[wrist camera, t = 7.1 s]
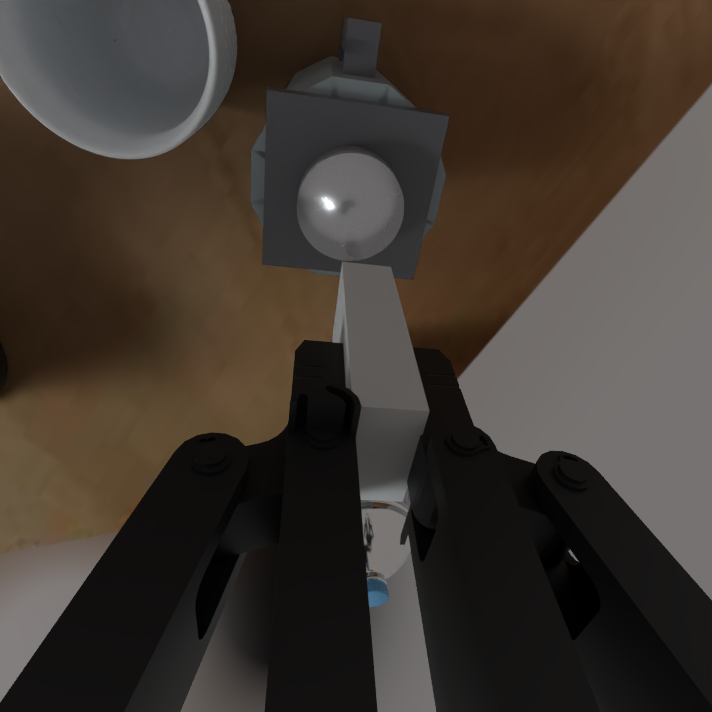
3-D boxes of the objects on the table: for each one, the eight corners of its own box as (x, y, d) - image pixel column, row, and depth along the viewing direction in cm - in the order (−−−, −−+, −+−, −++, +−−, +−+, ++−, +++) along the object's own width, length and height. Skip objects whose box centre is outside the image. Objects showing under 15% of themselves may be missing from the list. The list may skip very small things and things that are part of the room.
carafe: (273, 189, 40) (247, 276, 26) (279, 7, 33) (249, 0, 19) (391, 203, 41) (424, 293, 28) (422, 30, 34) (485, 39, 21)
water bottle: (315, 342, 49) (308, 577, 28) (382, 331, 48) (424, 561, 28) (328, 393, 52) (330, 632, 32) (390, 383, 52) (431, 619, 32)
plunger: (297, 176, 37) (282, 263, 24) (303, 87, 33) (289, 132, 20) (374, 185, 37) (401, 276, 24) (388, 99, 34) (427, 151, 21)
